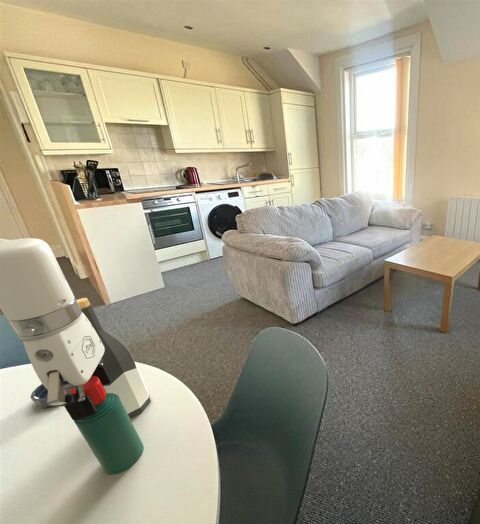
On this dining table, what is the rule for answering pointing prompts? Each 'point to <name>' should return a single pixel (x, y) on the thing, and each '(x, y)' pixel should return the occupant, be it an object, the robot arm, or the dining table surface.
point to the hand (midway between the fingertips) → (93, 399)
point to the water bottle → (111, 435)
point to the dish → (43, 396)
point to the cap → (93, 390)
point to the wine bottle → (119, 366)
